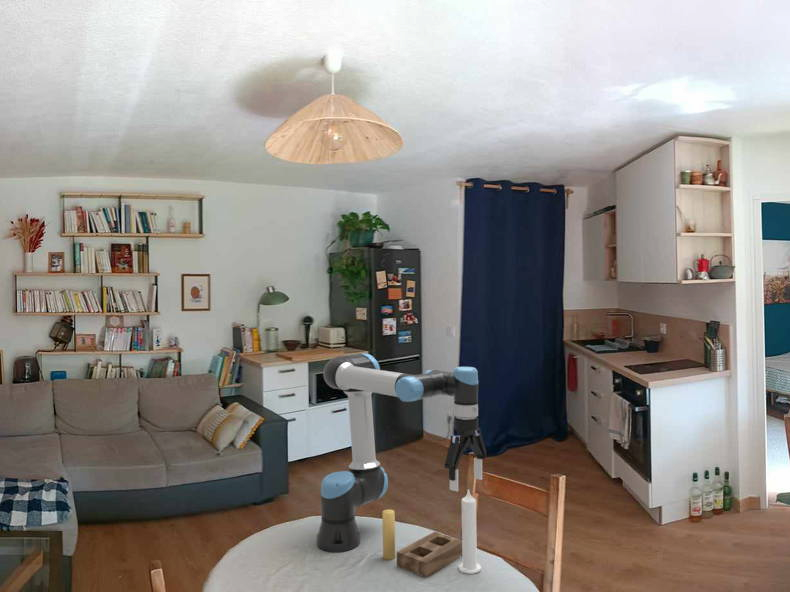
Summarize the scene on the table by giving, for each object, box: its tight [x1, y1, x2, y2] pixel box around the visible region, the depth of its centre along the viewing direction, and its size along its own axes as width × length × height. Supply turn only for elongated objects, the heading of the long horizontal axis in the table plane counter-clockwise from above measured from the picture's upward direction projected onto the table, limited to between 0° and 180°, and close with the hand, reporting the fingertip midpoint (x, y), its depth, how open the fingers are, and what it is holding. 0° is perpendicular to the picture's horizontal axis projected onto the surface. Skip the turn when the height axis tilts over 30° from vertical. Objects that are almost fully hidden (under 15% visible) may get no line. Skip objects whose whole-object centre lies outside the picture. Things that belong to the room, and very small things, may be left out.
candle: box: [457, 489, 482, 575], centre depth 180 cm, size 7×7×25 cm
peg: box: [381, 508, 396, 561], centre depth 189 cm, size 4×4×15 cm
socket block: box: [396, 531, 462, 579], centre depth 186 cm, size 12×20×4 cm, turn 139°
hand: (466, 484), depth 179 cm, fingers open, 13 cm apart
